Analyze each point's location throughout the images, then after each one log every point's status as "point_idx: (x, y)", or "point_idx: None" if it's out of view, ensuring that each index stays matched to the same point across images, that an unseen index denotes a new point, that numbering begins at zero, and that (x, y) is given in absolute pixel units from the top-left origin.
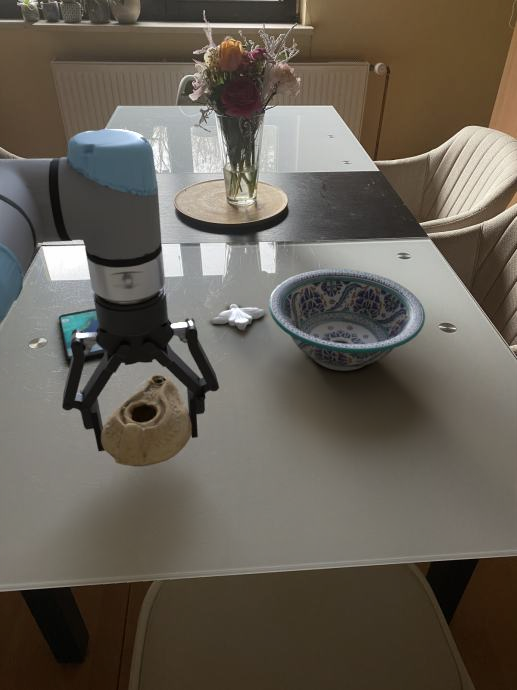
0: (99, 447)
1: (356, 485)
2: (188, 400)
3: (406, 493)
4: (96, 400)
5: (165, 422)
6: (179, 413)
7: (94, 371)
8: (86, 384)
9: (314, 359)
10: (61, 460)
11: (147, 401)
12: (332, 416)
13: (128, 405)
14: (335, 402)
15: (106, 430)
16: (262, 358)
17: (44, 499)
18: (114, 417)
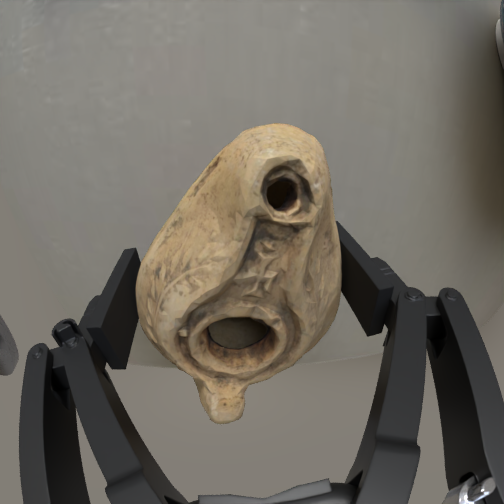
0: None
1: (458, 280)
2: (360, 286)
3: (479, 288)
4: (104, 336)
5: (293, 364)
6: (326, 310)
7: (81, 422)
8: (67, 376)
9: (500, 56)
10: (76, 214)
11: (249, 310)
12: (490, 175)
13: (193, 317)
14: (499, 150)
15: (153, 343)
16: (443, 7)
17: (85, 282)
18: (166, 352)
